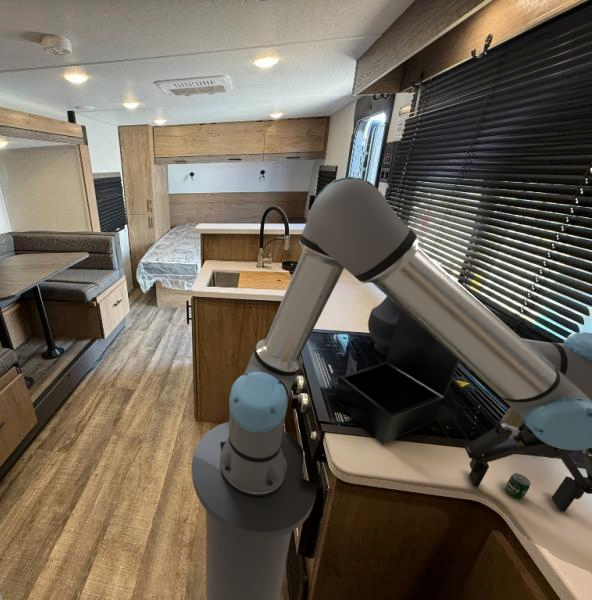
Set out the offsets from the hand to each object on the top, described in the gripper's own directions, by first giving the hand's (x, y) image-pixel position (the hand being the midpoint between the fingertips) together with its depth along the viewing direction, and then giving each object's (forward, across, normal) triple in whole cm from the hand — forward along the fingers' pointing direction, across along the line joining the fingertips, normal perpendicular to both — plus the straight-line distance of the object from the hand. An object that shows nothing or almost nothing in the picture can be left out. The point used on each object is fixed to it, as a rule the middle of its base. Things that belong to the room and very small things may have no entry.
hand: (513, 492), depth 64 cm
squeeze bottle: (0, +8, +18) cm, 20 cm away
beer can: (0, 0, 0) cm, 0 cm away
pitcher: (0, -15, +50) cm, 52 cm away
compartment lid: (-19, -16, +22) cm, 33 cm away
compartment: (0, -22, +16) cm, 27 cm away
